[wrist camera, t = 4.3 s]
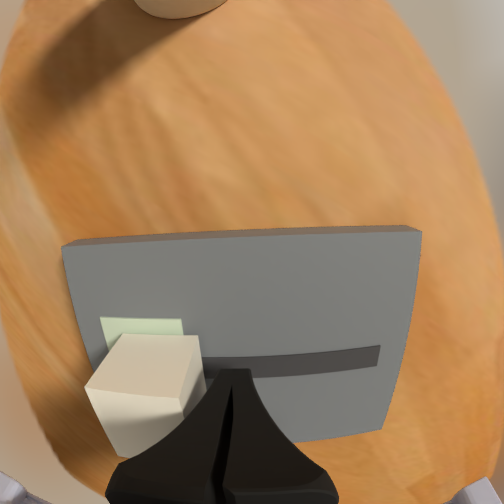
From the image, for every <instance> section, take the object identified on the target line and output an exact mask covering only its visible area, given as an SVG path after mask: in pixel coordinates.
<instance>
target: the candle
mask: <svg viewBox="0 0 504 504" xmlns="http://www.w3.org/2000/svg"><path fill="white" fill-rule="evenodd" d="M134 1H135V2H136V4H137V5H138V6H139V7H140V8H141V9H142V10H144V11H145V12H147V13H148V14H150V15H153V16H156V17H159V18H165V19H180V18H188V17H192V16H196V15H200V14H203V13H205V12H208V11H210V10H212V9H214V8H216V7H218V6H220V5H221V4H223V3H224V2H225V1H227V0H134Z"/></svg>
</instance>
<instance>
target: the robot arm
mask: <svg viewBox="0 0 504 504" xmlns="http://www.w3.org/2000/svg"><path fill="white" fill-rule="evenodd" d="M105 497H106V498H107V500H108V501H109V503H110V504H338V502H339V496H338V492H337V490H336V488H335V485H334V483H333V481H332V480H331V478H330V476H329V475H328V473H327V471H326V470H324V469H323V468H321V467H320V466H319V465H317V464H316V463H314V462H313V461H312V460H311V459H309V458H308V457H307V456H306V455H305V454H303V453H302V452H301V451H300V450H299V449H298V448H297V447H296V446H295V445H294V444H293V443H292V442H291V441H290V440H289V439H288V438H287V437H286V436H285V435H284V433H283V432H282V431H281V430H280V429H279V427H278V426H277V425H276V423H275V422H274V420H273V419H272V418H271V416H270V415H269V413H268V411H267V410H266V408H265V406H264V404H263V403H262V401H261V398H260V396H259V394H258V392H257V390H256V387H255V385H254V382H253V378H252V374H251V370H250V369H249V368H235V369H220V370H219V371H218V373H217V375H216V377H215V378H214V380H213V382H212V384H211V385H210V387H209V388H208V390H207V391H206V393H205V394H204V396H203V397H202V399H201V400H200V401H199V403H198V404H197V405H196V406H195V407H194V409H193V410H192V411H191V412H190V414H189V415H188V416H187V417H186V418H185V419H184V420H183V421H182V422H181V423H180V424H179V425H178V426H177V427H176V428H175V429H174V430H172V431H171V432H170V433H169V434H168V435H167V436H165V437H164V438H163V439H161V440H160V441H159V442H157V443H156V444H154V445H153V446H151V447H150V448H148V449H147V450H145V451H143V452H142V453H140V454H138V455H136V456H134V457H132V458H130V459H128V460H126V461H124V462H121V463H119V464H118V466H117V468H116V469H115V471H114V472H113V474H112V476H111V479H110V481H109V484H108V486H107V489H106V492H105ZM0 504H51V503H49V502H47V501H45V500H43V499H41V498H39V497H37V496H34V495H33V494H30V493H29V492H27V490H26V489H25V488H24V487H23V486H22V485H21V484H20V483H19V482H18V481H16V480H15V479H13V478H11V477H10V476H8V475H6V474H4V473H3V472H1V471H0ZM443 504H502V502H501V500H500V499H499V497H498V495H497V494H496V492H495V490H494V489H493V487H492V485H491V483H490V482H489V480H488V478H487V477H483V478H481V479H479V480H477V481H475V482H473V483H472V484H470V485H468V486H466V487H464V488H462V489H461V490H460V491H458V492H457V493H456V494H455V495H454V497H453V498H452V500H450V501H448V502H446V503H443Z"/></svg>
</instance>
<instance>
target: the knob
mask: <svg viewBox="0 0 504 504" xmlns="http://www.w3.org/2000/svg"><path fill="white" fill-rule="evenodd" d="M84 388H85V390H86V392H87V395H88V397H89V399H90V402H91V404H92V406H93V408H94V410H95V412H96V415H97V417H98V419H99V421H100V423H101V425H102V427H103V429H104V431H105V433H106V435H107V437H108V438H109V440H110V442H111V444H112V446H113V448H114V449H115V451H116V453H117V455H118V456H121V457H126V458H132V457H134V456H136V455H138V454H140V453H142V452H143V451H145V450H147V449H148V448H150V447H151V446H153V445H154V444H156V443H157V442H159V441H160V440H161V439H163V438H164V437H165V436H167V435H168V434H169V433H170V432H171V431H172V430H174V429H175V428H176V427H177V426H178V425H179V424H180V423H181V422H182V421H183V420H184V419H185V418H186V417H187V416H188V415H189V414H190V412H191V411H192V410H193V409H194V407H195V406H196V405H197V404H198V403H199V401H200V400H201V399H202V397H203V396H204V394H205V393H206V391H207V389H206V384H205V378H204V372H203V365H202V359H201V352H200V346H199V339H198V335H149V334H126V333H123V334H122V335H121V337H120V338H119V339H118V341H117V342H116V343H115V345H114V346H113V347H112V349H111V350H110V352H109V353H108V354H107V356H106V357H105V359H104V360H103V361H102V363H101V364H100V366H99V367H98V368H97V370H96V371H95V373H94V374H93V375H92V377H91V378H90V380H89V381H88V383H87V384H86V386H85V387H84Z"/></svg>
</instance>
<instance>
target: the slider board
mask: <svg viewBox="0 0 504 504" xmlns="http://www.w3.org/2000/svg"><path fill="white" fill-rule="evenodd" d="M421 239H422V231H420V230H417V229H415V228H412V227H409V226H407V225H392V226H341V227H305V228H276V229H251V230H228V231H207V232H188V233H170V234H153V235H137V236H121V237H107V238H93V239H79V240H75V241H73V242H71V243H68V244H66V245H64V246H62V247H61V250H62V256H63V262H64V267H65V272H66V277H67V281H68V286H69V290H70V295H71V299H72V303H73V307H74V311H75V314H76V318H77V322H78V325H79V329H80V332H81V335H82V339H83V342H84V345H85V348H86V351H87V354H88V357H89V360H90V363H91V366H92V369H93V371H94V373H95V371H96V370H97V368H98V367H99V366H100V364H101V363H102V361H103V360H104V359H105V357H106V356H107V354H108V353H109V352H110V350H111V349H112V347H113V346H114V345H115V343H116V342H117V341H118V339H119V338H120V337H121V335H122V334H123V333H126V334H149V335H198V339H199V346H200V352H201V359H202V365H203V372H204V378H205V384H206V389H207V390H208V388H209V387H210V385H211V384H212V382H213V380H214V378H215V377H216V375H217V373H218V371H219V370H220V369H235V368H249V369H250V370H251V374H252V378H253V382H254V385H255V387H256V390H257V392H258V394H259V396H260V398H261V401H262V403H263V404H264V406H265V408H266V410H267V411H268V413H269V415H270V416H271V418H272V419H273V420H274V422H275V423H276V425H277V426H278V427H279V429H280V430H281V431H282V432H283V433H284V435H285V436H286V437H287V438H288V439H289V440H290V441H291V442H292V443H296V442H307V441H315V440H323V439H331V438H337V437H344V436H350V435H355V434H361V433H366V432H371V431H375V430H380V429H382V426H383V423H384V421H385V418H386V415H387V412H388V408H389V405H390V402H391V399H392V396H393V392H394V389H395V385H396V382H397V378H398V374H399V371H400V367H401V363H402V359H403V354H404V350H405V346H406V341H407V337H408V332H409V327H410V322H411V316H412V311H413V305H414V299H415V292H416V285H417V278H418V270H419V261H420V251H421Z"/></svg>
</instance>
